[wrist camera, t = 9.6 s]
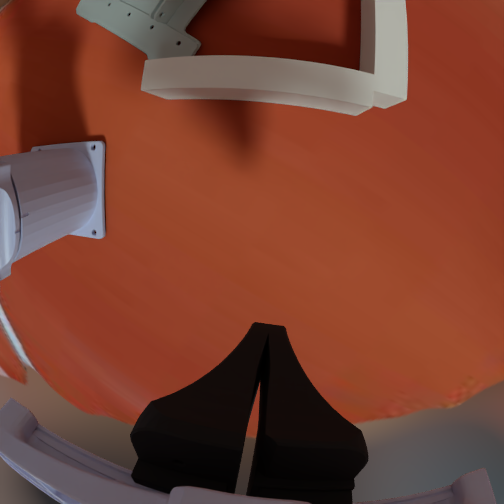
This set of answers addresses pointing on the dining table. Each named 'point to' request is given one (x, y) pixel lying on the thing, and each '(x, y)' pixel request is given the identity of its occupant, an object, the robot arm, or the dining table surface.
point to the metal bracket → (147, 23)
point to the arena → (299, 71)
